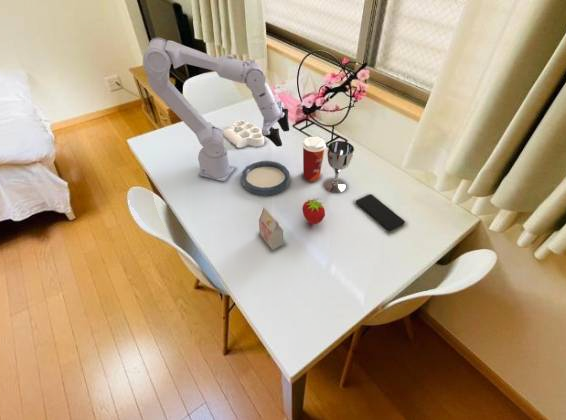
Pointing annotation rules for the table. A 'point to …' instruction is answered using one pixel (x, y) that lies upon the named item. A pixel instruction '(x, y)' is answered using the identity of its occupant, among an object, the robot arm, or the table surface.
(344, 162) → the silver metal goblet
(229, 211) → the table surface
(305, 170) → the paper cup
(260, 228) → the milk carton
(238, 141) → the white tube cluster
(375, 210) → the smartphone
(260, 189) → the plate
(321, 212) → the strawberry
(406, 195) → the table surface
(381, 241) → the table surface
